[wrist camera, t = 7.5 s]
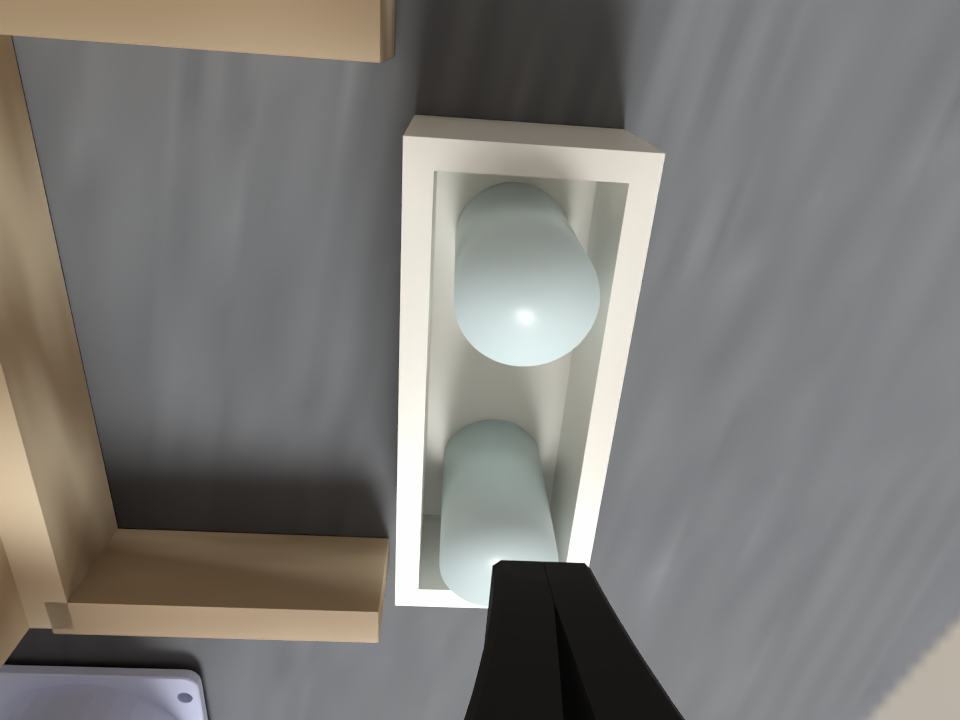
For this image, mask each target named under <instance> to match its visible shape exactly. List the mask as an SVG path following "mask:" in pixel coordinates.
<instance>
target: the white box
mask: <svg viewBox="0 0 960 720" xmlns="http://www.w3.org/2000/svg"><path fill="white" fill-rule="evenodd" d="M664 158H665V153H664V152H662V151H660V150H659V149H657V148H655V147H654V146H652V145H650V144H649V143H647V142H645V141H644V140H642V139H640V138H639V137H637V136H635V135H634V134H632V133H630V132H629V131H627V130H625V129H613V128H599V127H585V126H570V125H556V124H542V123H527V122H513V121H498V120H484V119H470V118H455V117H441V116H427V115H414V117H413V119H412V120H411V122H410V124H409V126H408V128H407V130H406V131H405V133H404V135H403V171H402V230H401V289H400V347H399V406H398V465H397V524H396V583H395V605H400V606H433V607H466V608H488V605H489V595H490V585H491V576H492V566H493V565H494V564H496V563H497V562H499V561H500V560H516V561H542V562H543V561H545V562H574V563H585V564H586V565H587V566H588V567H589V563H590V558H591V552H592V547H593V541H594V536H595V531H596V525H597V520H598V514H599V509H600V504H601V498H602V493H603V487H604V482H605V477H606V471H607V466H608V460H609V455H610V450H611V444H612V439H613V433H614V428H615V423H616V417H617V412H618V406H619V401H620V396H621V390H622V385H623V379H624V374H625V369H626V363H627V358H628V352H629V347H630V342H631V336H632V331H633V325H634V320H635V315H636V309H637V304H638V299H639V293H640V288H641V282H642V277H643V272H644V266H645V261H646V255H647V250H648V245H649V239H650V234H651V228H652V223H653V218H654V212H655V207H656V201H657V196H658V191H659V185H660V180H661V174H662V169H663V164H664Z"/></svg>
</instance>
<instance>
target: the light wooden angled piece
mask: <svg viewBox="0 0 960 720" xmlns="http://www.w3.org/2000/svg"><path fill="white" fill-rule="evenodd" d="M11 35H15V36H28V37H41V38H55V39H68V40H82V41H95V42H109V43H122V44H135V45H149V46H162V47H176V48H189V49H202V50H216V51H229V52H243V53H256V54H270V55H283V56H296V57H310V58H323V59H337V60H350V61H363V62H377V63H381V62H383V61H386V60H388V59H391V58H393V57H394V50H395V0H0V668H1V667H2V666H3V664H4V663H5V662H6V660H7V659H8V657H9V656H10V655H11V653H12V652H13V650H14V649H15V648H16V646H17V645H18V643H19V642H20V641H21V639H22V638H23V637H24V635H25V634H26V632H27V631H28V630H29V628H50V629H52V630H53V633H54V634H82V635H118V636H154V637H191V638H227V639H263V640H299V641H336V642H372V643H378V641H379V633H380V626H381V618H382V611H383V603H384V596H385V589H386V581H387V574H388V558H389V538H362V537H334V536H307V535H279V534H251V533H224V532H196V531H168V530H140V529H118V527H117V522H116V517H115V513H114V508H113V504H112V499H111V494H110V490H109V485H108V480H107V476H106V471H105V467H104V462H103V457H102V453H101V448H100V444H99V439H98V434H97V430H96V425H95V420H94V416H93V411H92V407H91V402H90V397H89V393H88V388H87V384H86V379H85V374H84V370H83V365H82V361H81V356H80V351H79V347H78V342H77V337H76V333H75V328H74V324H73V319H72V314H71V310H70V305H69V301H68V296H67V291H66V287H65V282H64V277H63V273H62V268H61V264H60V259H59V254H58V250H57V245H56V241H55V236H54V231H53V227H52V222H51V217H50V213H49V208H48V204H47V199H46V194H45V190H44V185H43V181H42V176H41V171H40V167H39V162H38V158H37V153H36V148H35V144H34V139H33V134H32V130H31V125H30V121H29V116H28V111H27V107H26V102H25V98H24V93H23V88H22V84H21V79H20V74H19V70H18V65H17V61H16V56H15V51H14V47H13V42H12V38H11Z"/></svg>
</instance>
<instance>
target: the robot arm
mask: <svg viewBox="0 0 960 720" xmlns="http://www.w3.org/2000/svg"><path fill="white" fill-rule="evenodd" d="M0 720H208V717H207V711H206V705H205V699H204V693H203V687H202V681H201V678H200V676H199V675H198V674H197V673H196V672H194V671H192V670H186V669H150V668H110V667H70V666H30V665H3V666H2V667H1V668H0ZM464 720H685V719H684V718H683V716H682V715H681V714H680V712H679V711H678V709H677V708H676V707H675V705H674V704H673V702H672V701H671V699H670V698H669V696H668V695H667V693H666V692H665V690H664V689H663V687H662V686H661V684H660V683H659V681H658V680H657V678H656V677H655V675H654V674H653V672H652V671H651V669H650V668H649V666H648V665H647V664H646V662H645V660H644V659H643V657H642V656H641V654H640V653H639V651H638V650H637V648H636V646H635V645H634V643H633V642H632V640H631V638H630V637H629V635H628V633H627V632H626V630H625V628H624V627H623V625H622V624H621V622H620V620H619V619H618V617H617V615H616V614H615V612H614V610H613V608H612V607H611V605H610V603H609V602H608V600H607V598H606V596H605V595H604V593H603V591H602V589H601V587H600V586H599V584H598V582H597V580H596V578H595V576H594V575H593V573H592V571H591V569H590V568H589V567H588V566H587V565H586V564H585V563H574V562H545V561H543V562H542V561H516V560H500V561H499V562H497V563H496V564H494V565H493V566H492V576H491V585H490V595H489V605H488V615H487V624H486V634H485V644H484V650H483V654H482V658H481V662H480V666H479V670H478V674H477V678H476V682H475V686H474V689H473V693H472V696H471V700H470V703H469V706H468V709H467V712H466V715H465V718H464Z"/></svg>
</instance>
